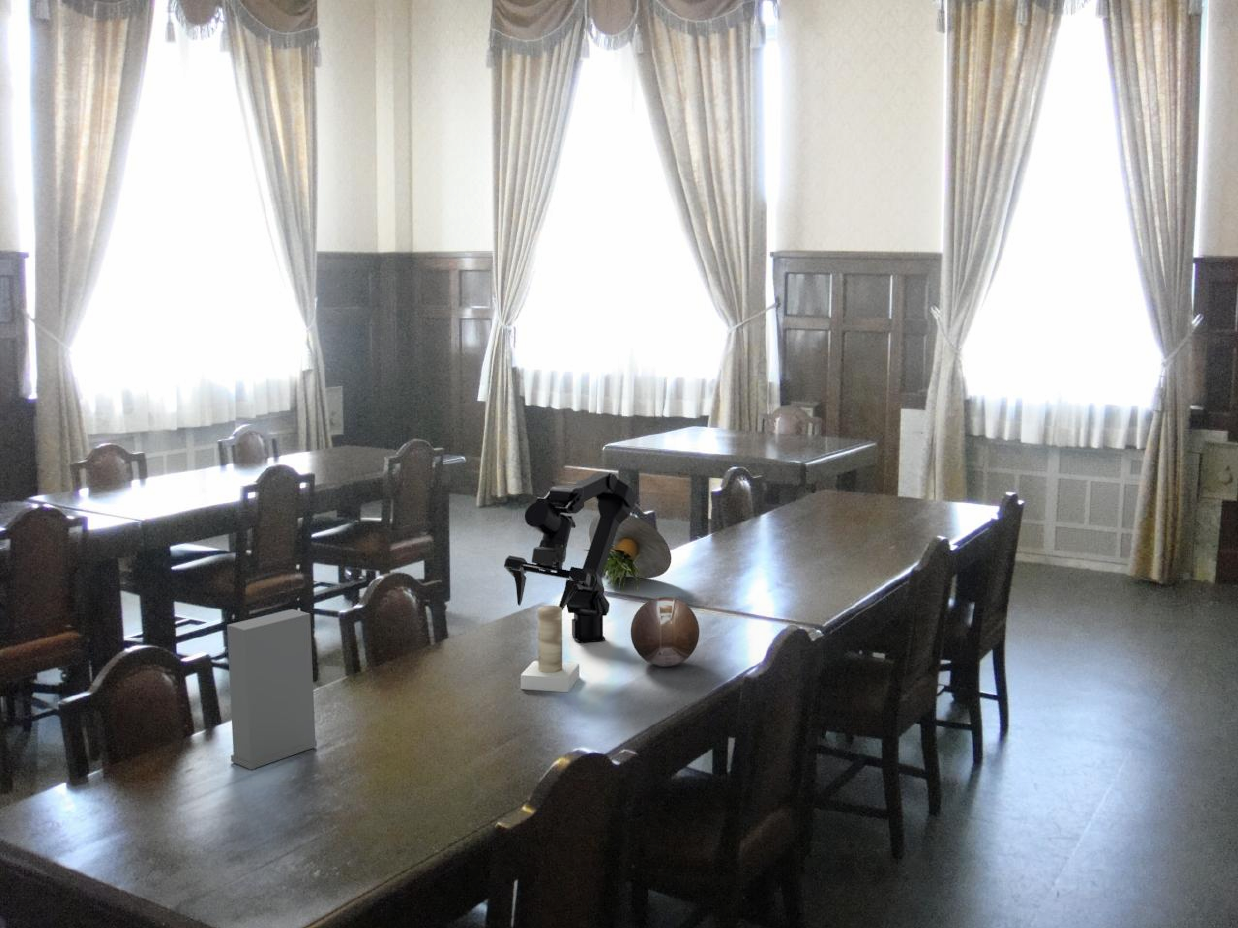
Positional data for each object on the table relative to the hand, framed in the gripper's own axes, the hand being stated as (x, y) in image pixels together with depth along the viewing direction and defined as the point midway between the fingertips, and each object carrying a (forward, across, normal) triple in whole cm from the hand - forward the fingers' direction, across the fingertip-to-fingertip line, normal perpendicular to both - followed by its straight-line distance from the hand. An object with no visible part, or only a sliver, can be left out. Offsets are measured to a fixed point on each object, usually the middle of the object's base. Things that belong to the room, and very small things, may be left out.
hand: (538, 608), depth 271 cm
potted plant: (-23, +5, +72) cm, 76 cm away
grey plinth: (+16, +7, -6) cm, 18 cm away
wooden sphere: (+6, +29, +8) cm, 30 cm away
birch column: (+13, +7, -7) cm, 16 cm away
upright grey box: (+43, -30, -46) cm, 70 cm away
